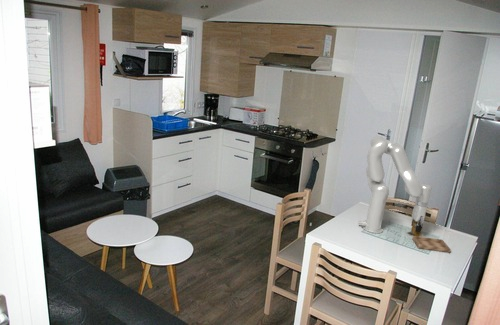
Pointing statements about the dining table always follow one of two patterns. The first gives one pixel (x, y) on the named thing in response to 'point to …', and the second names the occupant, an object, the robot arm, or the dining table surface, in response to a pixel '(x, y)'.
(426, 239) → the serving tray
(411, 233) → the condiment
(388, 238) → the dining table surface
